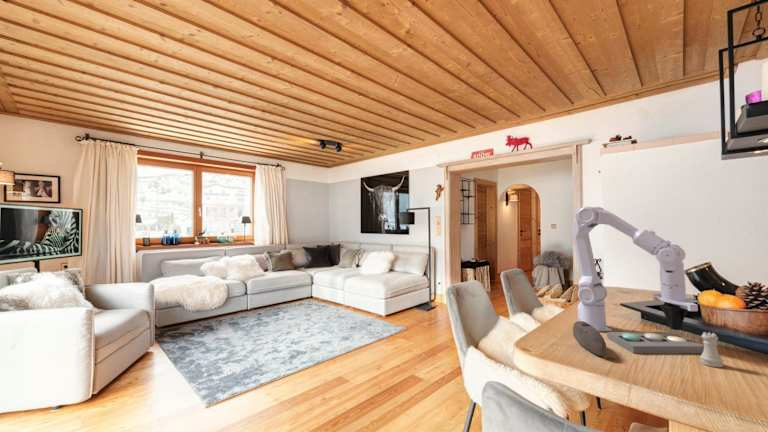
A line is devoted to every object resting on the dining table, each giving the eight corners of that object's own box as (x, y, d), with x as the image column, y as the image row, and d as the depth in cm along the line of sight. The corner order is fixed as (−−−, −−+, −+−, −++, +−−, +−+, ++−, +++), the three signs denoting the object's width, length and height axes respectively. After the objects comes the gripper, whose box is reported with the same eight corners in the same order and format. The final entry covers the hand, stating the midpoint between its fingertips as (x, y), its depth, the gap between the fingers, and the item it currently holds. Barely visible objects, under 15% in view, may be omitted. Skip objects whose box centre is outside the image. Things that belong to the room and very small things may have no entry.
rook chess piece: (729, 368, 82) (726, 336, 82) (708, 367, 83) (706, 336, 83) (715, 361, 86) (712, 331, 87) (695, 360, 87) (693, 330, 88)
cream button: (663, 339, 101) (663, 336, 101) (678, 339, 100) (678, 336, 100) (674, 344, 96) (674, 340, 96) (690, 344, 96) (690, 340, 96)
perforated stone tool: (614, 360, 89) (612, 335, 89) (593, 360, 90) (592, 335, 90) (589, 342, 104) (588, 320, 104) (571, 341, 105) (570, 319, 105)
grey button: (641, 336, 101) (640, 333, 101) (656, 336, 101) (655, 333, 101) (651, 341, 97) (651, 337, 97) (667, 341, 97) (666, 337, 97)
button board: (607, 338, 106) (606, 332, 106) (672, 338, 104) (672, 331, 104) (633, 353, 93) (633, 346, 94) (708, 353, 91) (708, 346, 92)
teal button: (619, 337, 102) (618, 333, 102) (634, 336, 102) (633, 333, 102) (628, 341, 98) (627, 337, 98) (643, 341, 97) (643, 337, 97)
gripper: (708, 288, 91) (711, 337, 91) (668, 280, 106) (671, 322, 105) (681, 289, 92) (684, 337, 92) (645, 280, 107) (647, 322, 106)
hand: (675, 329), depth 99 cm, fingers closed
